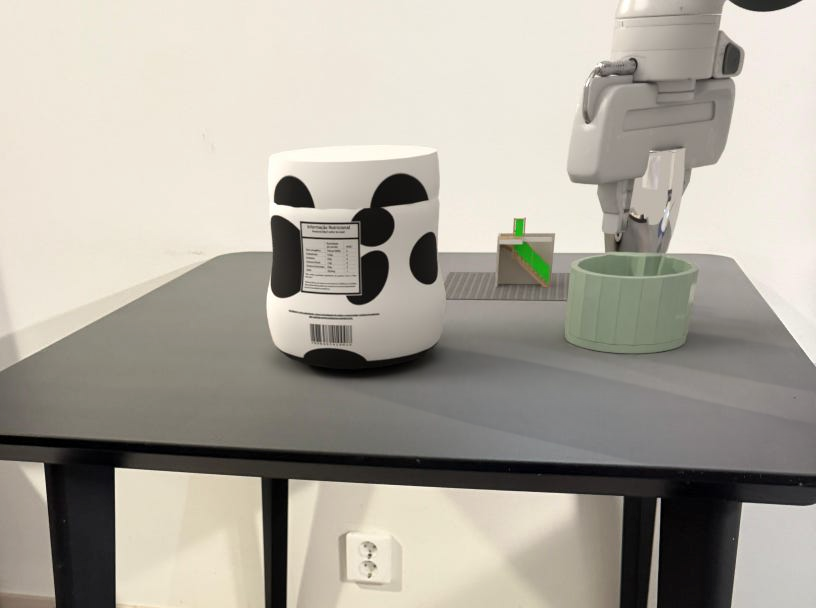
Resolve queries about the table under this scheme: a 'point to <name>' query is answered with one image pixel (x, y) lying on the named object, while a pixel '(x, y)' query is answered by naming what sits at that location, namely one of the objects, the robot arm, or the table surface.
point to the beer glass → (648, 217)
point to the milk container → (355, 255)
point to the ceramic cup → (629, 307)
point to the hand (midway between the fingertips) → (639, 227)
